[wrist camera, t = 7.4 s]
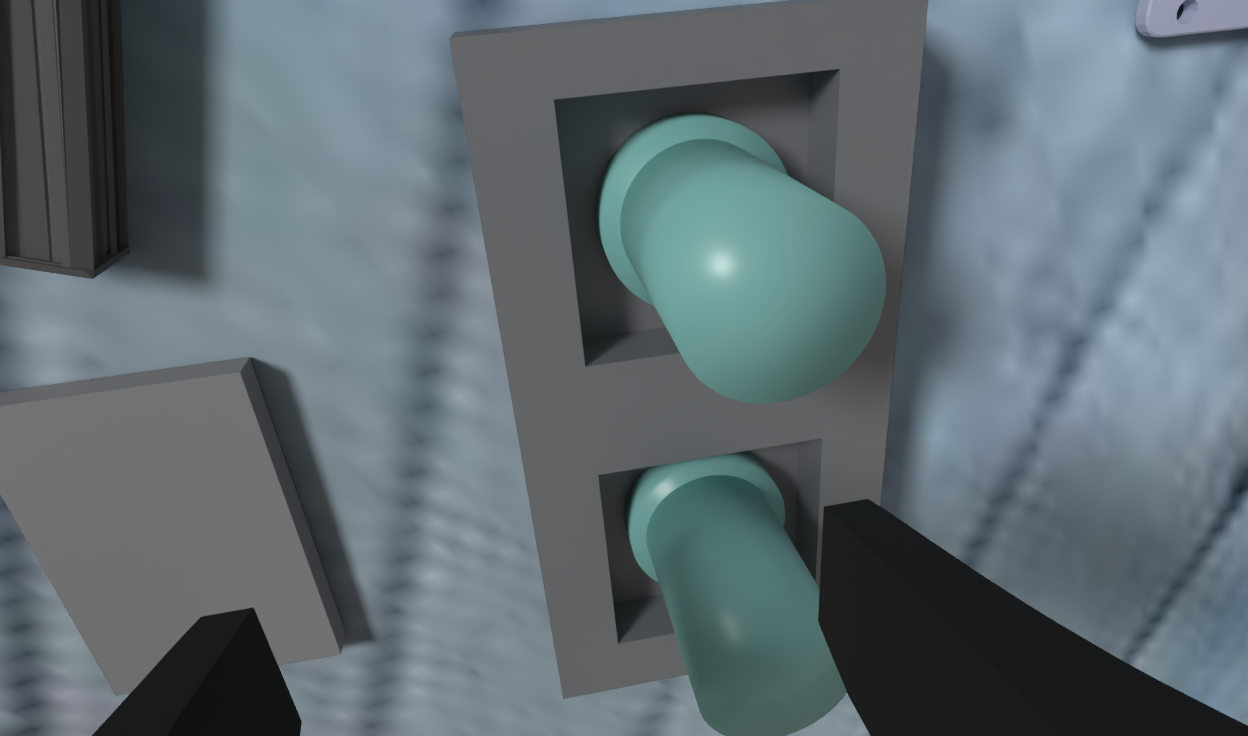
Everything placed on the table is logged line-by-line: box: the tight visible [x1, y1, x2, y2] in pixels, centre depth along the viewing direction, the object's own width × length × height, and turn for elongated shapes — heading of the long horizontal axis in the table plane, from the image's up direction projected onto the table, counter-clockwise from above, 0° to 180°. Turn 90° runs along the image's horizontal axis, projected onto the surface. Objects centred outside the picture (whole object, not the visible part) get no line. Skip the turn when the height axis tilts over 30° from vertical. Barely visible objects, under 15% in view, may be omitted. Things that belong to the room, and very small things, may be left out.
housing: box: [449, 0, 928, 699], centre depth 19 cm, size 9×17×2 cm, turn 5°
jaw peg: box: [624, 451, 847, 736], centre depth 18 cm, size 4×4×6 cm
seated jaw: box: [595, 111, 886, 404], centre depth 14 cm, size 4×4×6 cm
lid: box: [0, 357, 345, 696], centre depth 19 cm, size 6×9×1 cm, turn 5°
